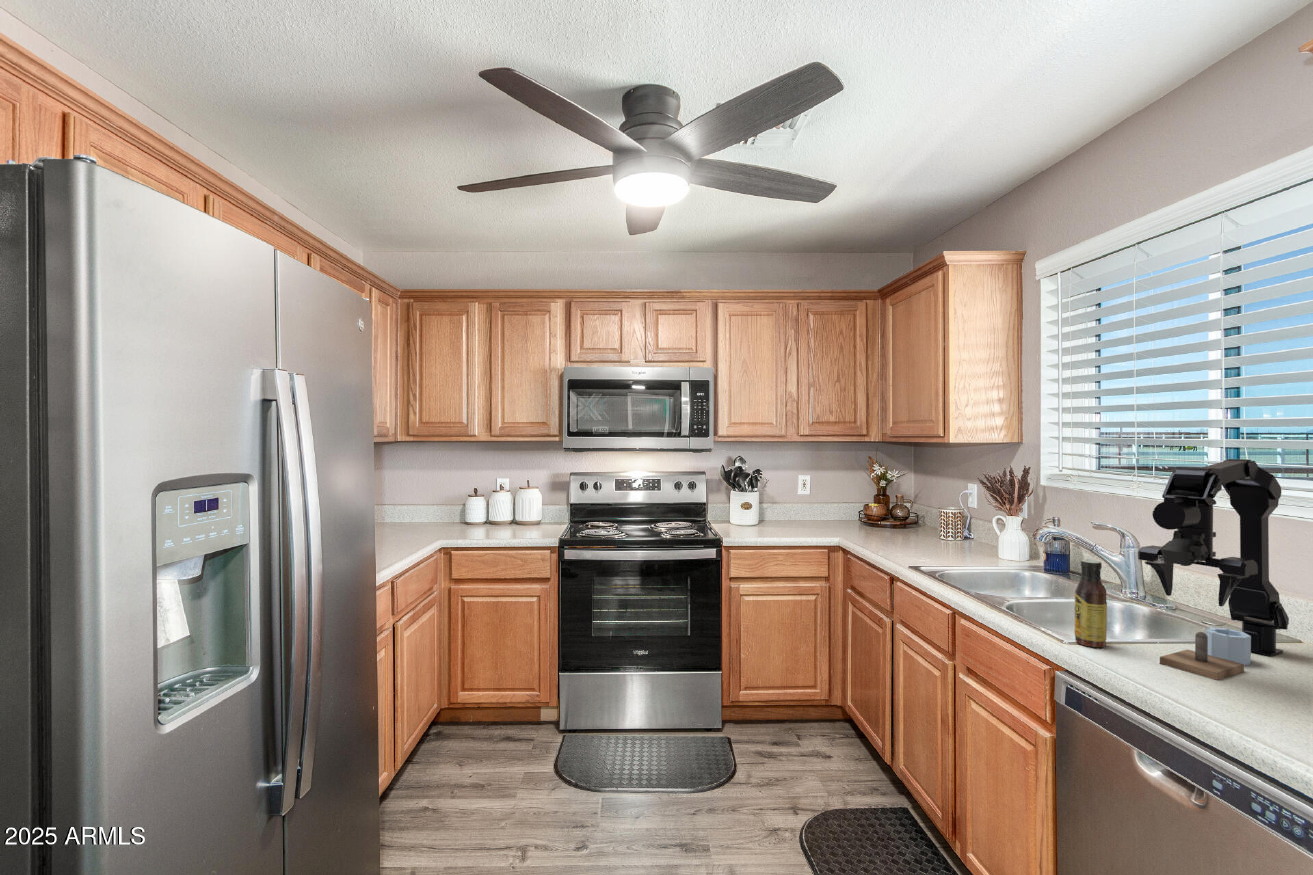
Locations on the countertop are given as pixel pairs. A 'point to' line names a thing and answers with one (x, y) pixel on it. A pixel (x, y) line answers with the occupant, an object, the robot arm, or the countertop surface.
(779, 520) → the countertop surface
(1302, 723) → the countertop surface
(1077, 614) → the sauce bottle
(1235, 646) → the blue roll
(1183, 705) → the countertop surface
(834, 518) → the countertop surface
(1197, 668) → the roll holder
